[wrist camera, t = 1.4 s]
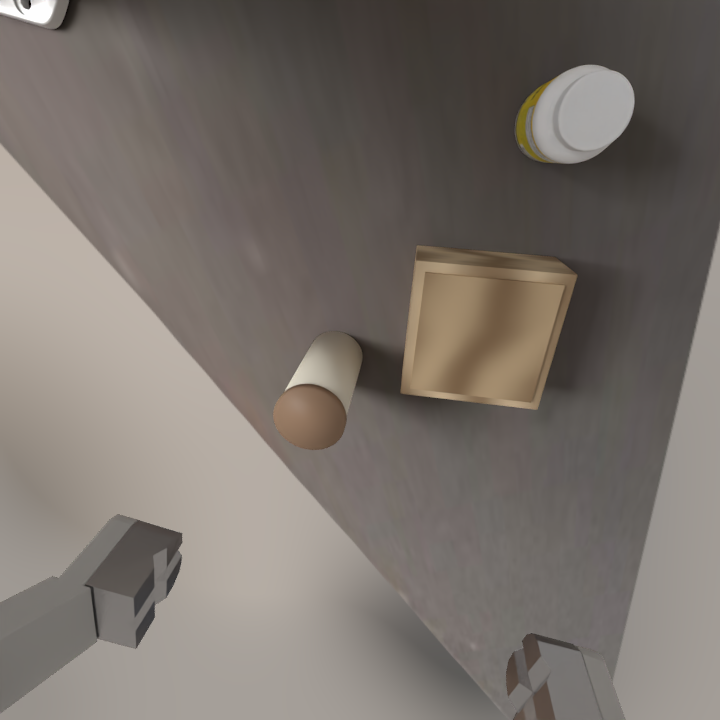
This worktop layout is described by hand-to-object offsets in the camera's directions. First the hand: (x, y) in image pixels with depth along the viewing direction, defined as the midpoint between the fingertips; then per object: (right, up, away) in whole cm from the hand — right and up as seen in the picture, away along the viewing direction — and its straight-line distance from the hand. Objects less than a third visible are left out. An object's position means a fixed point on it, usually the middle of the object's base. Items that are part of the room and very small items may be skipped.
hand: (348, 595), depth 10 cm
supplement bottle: (+15, +24, +23) cm, 36 cm away
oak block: (+11, +10, +30) cm, 33 cm away
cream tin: (-2, +6, +34) cm, 34 cm away
